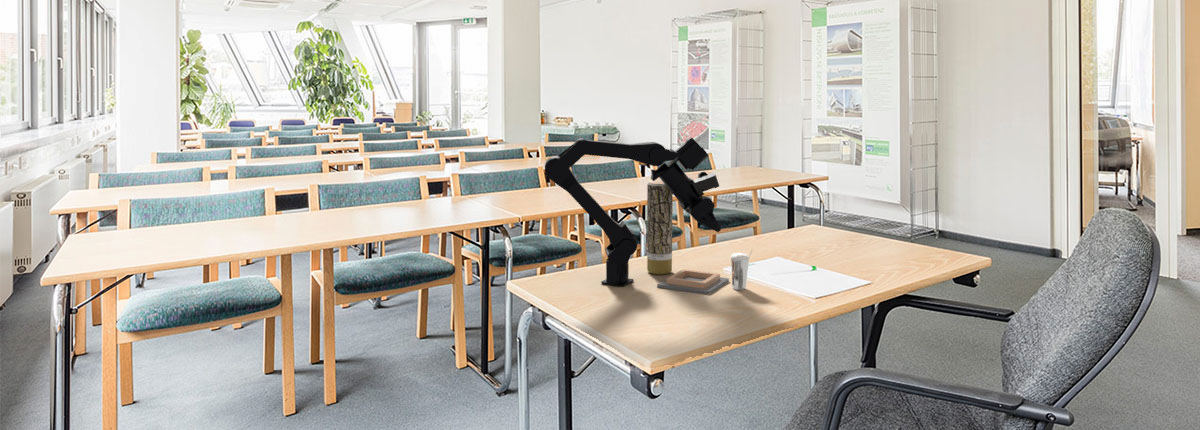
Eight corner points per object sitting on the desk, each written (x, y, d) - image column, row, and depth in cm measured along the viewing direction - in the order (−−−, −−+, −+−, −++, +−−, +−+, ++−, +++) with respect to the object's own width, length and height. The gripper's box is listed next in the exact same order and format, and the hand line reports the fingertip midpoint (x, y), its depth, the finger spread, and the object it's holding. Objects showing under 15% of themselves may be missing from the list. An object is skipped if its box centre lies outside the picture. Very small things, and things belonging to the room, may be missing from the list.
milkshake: (753, 290, 176) (754, 251, 174) (731, 290, 176) (732, 251, 174) (749, 285, 180) (750, 247, 179) (728, 286, 180) (729, 247, 179)
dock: (708, 294, 173) (709, 285, 173) (657, 287, 180) (657, 278, 180) (728, 281, 185) (728, 273, 184) (679, 274, 192) (679, 267, 191)
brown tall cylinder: (670, 275, 191) (671, 184, 187) (645, 274, 192) (645, 183, 188) (673, 269, 197) (673, 181, 193) (648, 268, 199) (649, 180, 194)
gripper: (709, 165, 171) (749, 213, 174) (695, 158, 190) (730, 202, 192) (674, 195, 172) (714, 242, 175) (663, 185, 191) (699, 228, 193)
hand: (715, 227), depth 184 cm, fingers open, 9 cm apart
